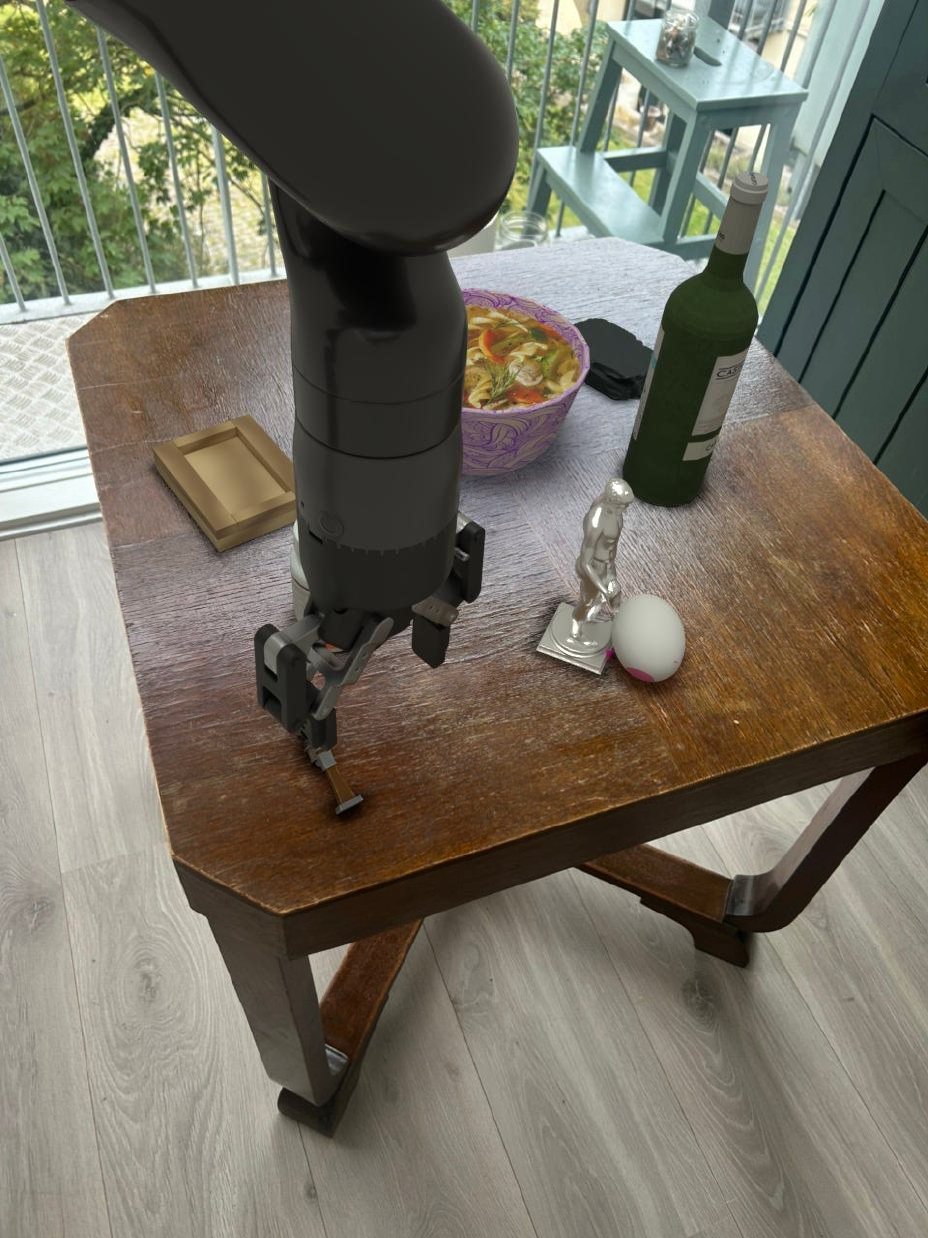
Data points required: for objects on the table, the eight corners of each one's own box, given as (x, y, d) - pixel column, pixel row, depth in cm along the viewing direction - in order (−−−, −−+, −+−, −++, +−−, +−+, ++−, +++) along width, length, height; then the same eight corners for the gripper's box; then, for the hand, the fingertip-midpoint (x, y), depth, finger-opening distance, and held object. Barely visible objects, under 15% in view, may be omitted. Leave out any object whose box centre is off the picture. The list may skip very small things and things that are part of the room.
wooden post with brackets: (304, 712, 72) (313, 697, 68) (352, 808, 71) (364, 798, 67) (283, 722, 71) (290, 708, 67) (330, 819, 70) (341, 810, 66)
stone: (620, 409, 102) (625, 387, 100) (542, 356, 107) (546, 333, 105) (670, 383, 106) (676, 360, 103) (593, 332, 111) (597, 310, 109)
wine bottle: (697, 514, 92) (805, 210, 69) (616, 498, 92) (697, 191, 70) (702, 463, 97) (804, 165, 74) (625, 448, 98) (703, 147, 75)
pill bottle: (379, 608, 81) (380, 509, 72) (356, 662, 77) (355, 565, 68) (310, 591, 82) (303, 491, 73) (284, 645, 78) (273, 545, 69)
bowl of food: (518, 372, 105) (532, 274, 96) (606, 487, 93) (631, 388, 85) (345, 406, 99) (342, 305, 90) (416, 534, 87) (421, 432, 78)
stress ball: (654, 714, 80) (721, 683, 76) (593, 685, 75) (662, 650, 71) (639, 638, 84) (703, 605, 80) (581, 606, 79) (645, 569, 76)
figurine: (589, 700, 76) (637, 539, 63) (516, 660, 78) (547, 496, 65) (634, 634, 81) (687, 472, 68) (563, 599, 83) (601, 434, 70)
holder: (219, 552, 84) (215, 530, 82) (156, 469, 90) (151, 446, 88) (318, 512, 88) (317, 490, 86) (251, 435, 94) (249, 413, 92)
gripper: (430, 389, 49) (417, 601, 61) (198, 516, 41) (236, 728, 54) (541, 461, 46) (504, 669, 58) (311, 612, 38) (324, 813, 51)
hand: (375, 697), depth 56 cm, fingers open, 8 cm apart
